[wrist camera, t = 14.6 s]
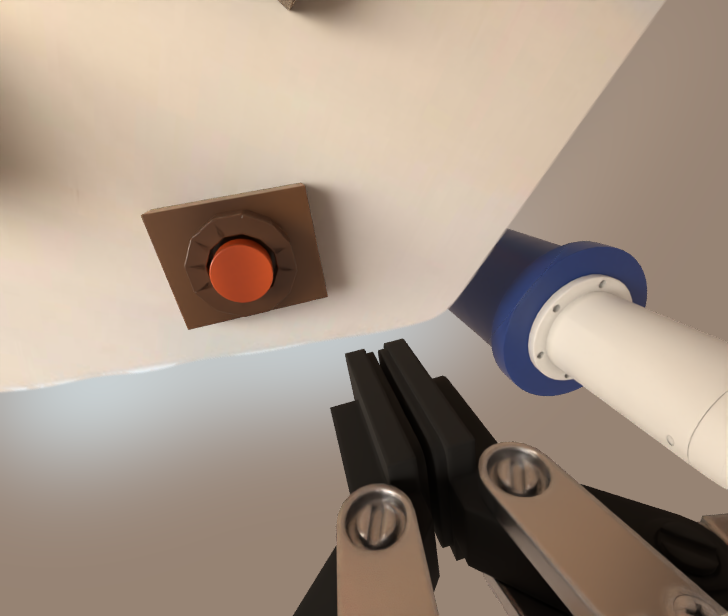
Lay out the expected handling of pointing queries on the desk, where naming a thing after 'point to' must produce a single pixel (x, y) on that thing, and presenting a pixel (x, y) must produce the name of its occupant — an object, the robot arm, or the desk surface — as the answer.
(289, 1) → the panel
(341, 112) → the desk surface
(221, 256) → the timer button
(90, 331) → the desk surface
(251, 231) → the brown button mount
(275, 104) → the desk surface
